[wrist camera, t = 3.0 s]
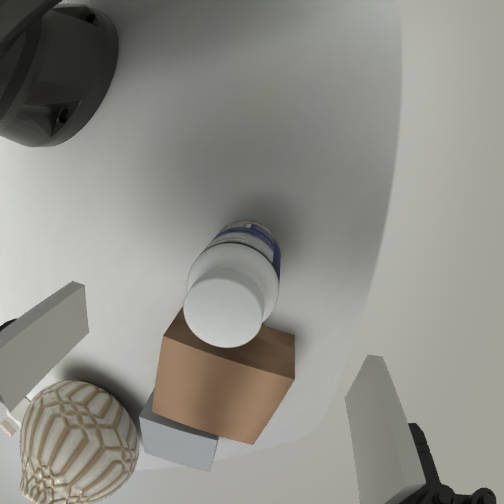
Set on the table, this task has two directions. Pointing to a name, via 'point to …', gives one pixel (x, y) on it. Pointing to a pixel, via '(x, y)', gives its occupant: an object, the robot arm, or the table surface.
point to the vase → (76, 445)
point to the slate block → (176, 440)
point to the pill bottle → (233, 285)
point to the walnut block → (223, 381)
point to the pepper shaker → (15, 418)
